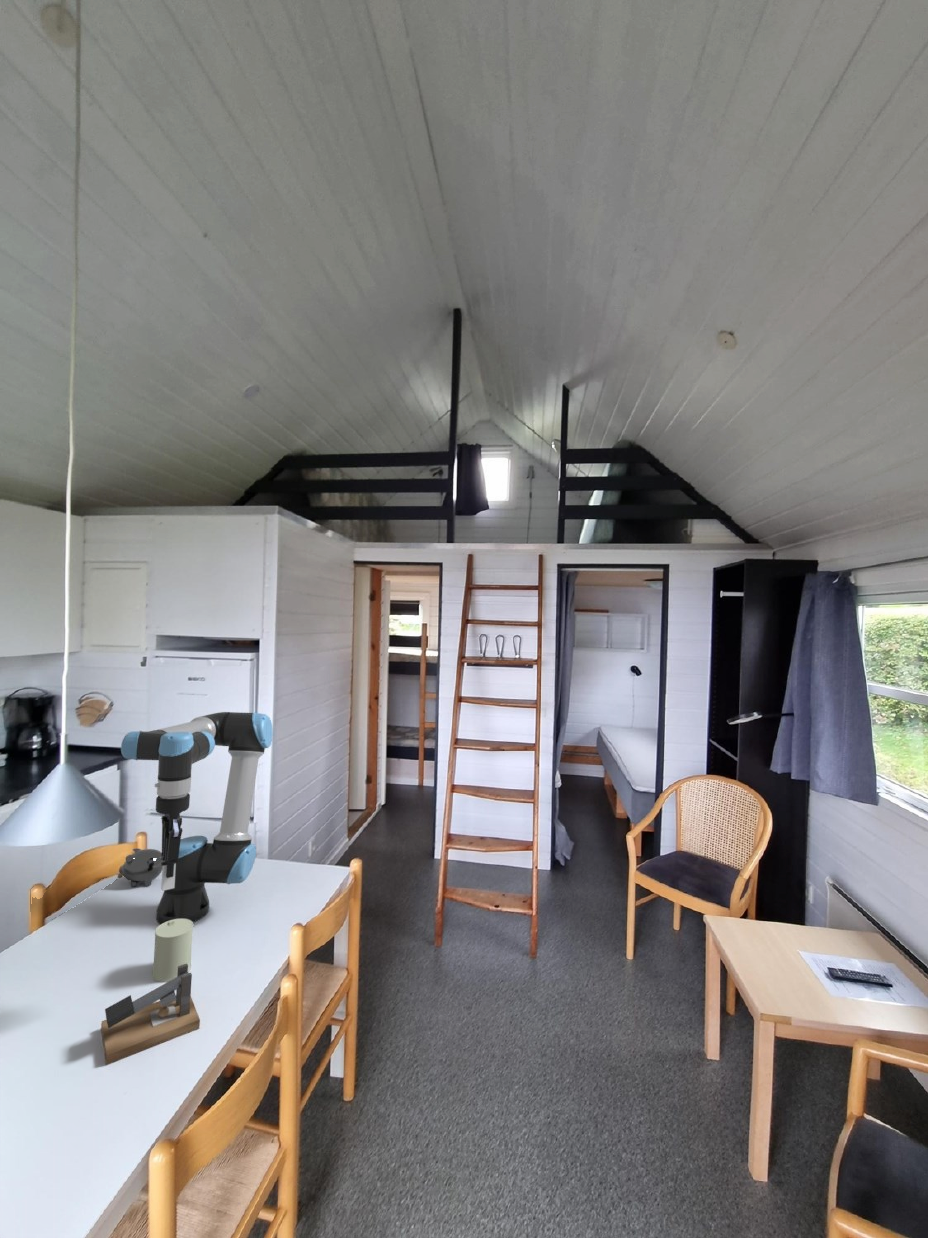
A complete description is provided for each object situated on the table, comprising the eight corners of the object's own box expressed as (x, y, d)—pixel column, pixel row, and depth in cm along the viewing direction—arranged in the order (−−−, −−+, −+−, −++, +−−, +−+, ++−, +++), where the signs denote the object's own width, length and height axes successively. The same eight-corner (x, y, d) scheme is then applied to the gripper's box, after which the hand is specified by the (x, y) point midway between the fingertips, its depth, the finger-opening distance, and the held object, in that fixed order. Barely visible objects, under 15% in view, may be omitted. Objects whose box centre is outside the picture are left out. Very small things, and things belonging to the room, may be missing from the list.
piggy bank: (124, 877, 192) (126, 845, 193) (170, 874, 196) (172, 843, 196) (112, 892, 181) (114, 858, 182) (160, 888, 185) (162, 855, 185)
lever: (109, 1026, 119) (104, 1009, 118) (190, 980, 129) (186, 964, 128) (111, 1040, 115) (107, 1022, 114) (194, 992, 125) (190, 975, 124)
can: (184, 956, 149) (187, 913, 149) (195, 972, 142) (198, 927, 142) (147, 969, 142) (150, 924, 143) (157, 987, 136) (160, 939, 136)
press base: (101, 1030, 121) (104, 981, 121) (188, 999, 132) (190, 954, 132) (106, 1065, 111) (109, 1012, 112) (199, 1028, 123) (202, 980, 123)
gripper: (152, 790, 137) (146, 882, 136) (161, 804, 127) (155, 903, 126) (184, 785, 142) (179, 874, 141) (195, 799, 132) (189, 895, 131)
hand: (167, 888), depth 134 cm, fingers closed
